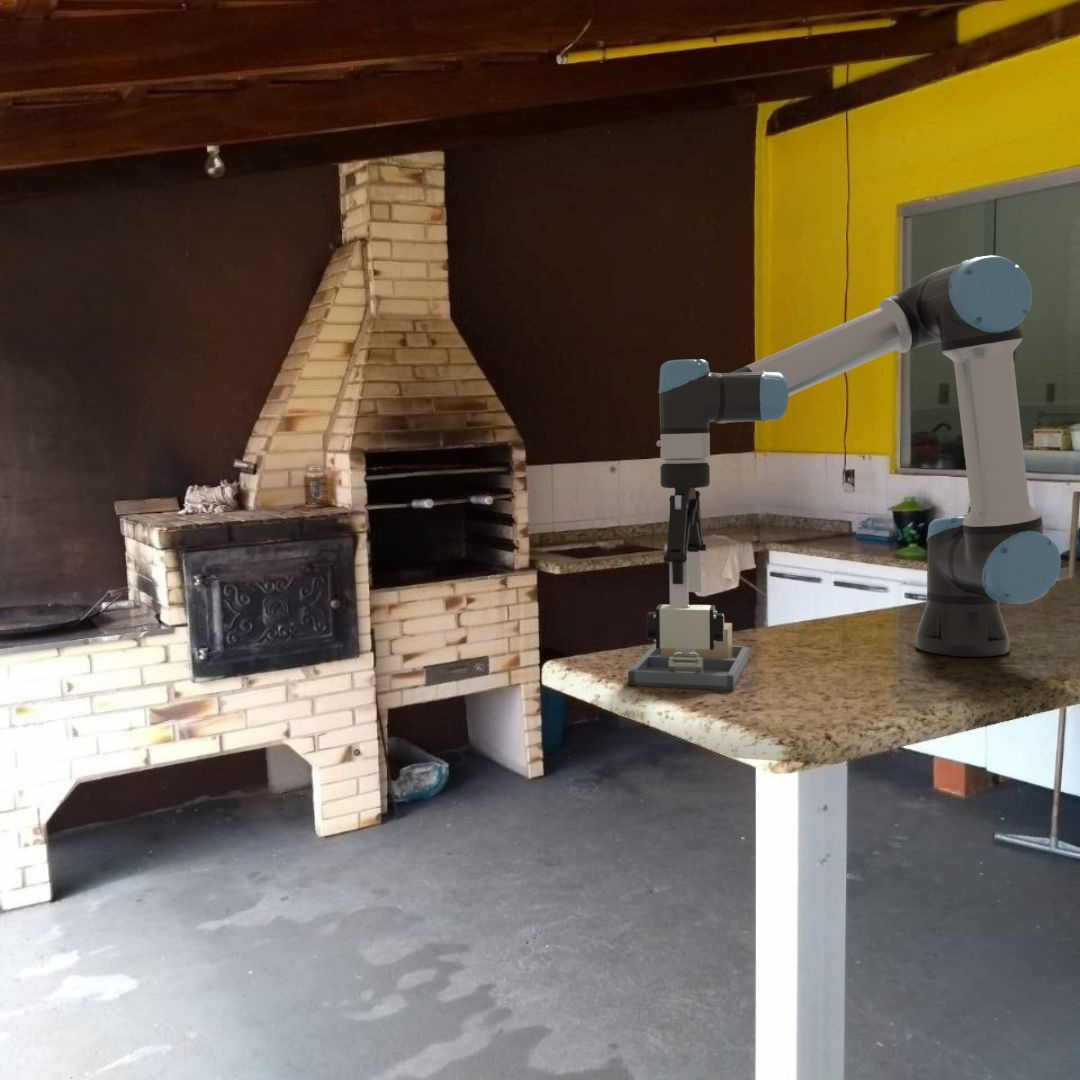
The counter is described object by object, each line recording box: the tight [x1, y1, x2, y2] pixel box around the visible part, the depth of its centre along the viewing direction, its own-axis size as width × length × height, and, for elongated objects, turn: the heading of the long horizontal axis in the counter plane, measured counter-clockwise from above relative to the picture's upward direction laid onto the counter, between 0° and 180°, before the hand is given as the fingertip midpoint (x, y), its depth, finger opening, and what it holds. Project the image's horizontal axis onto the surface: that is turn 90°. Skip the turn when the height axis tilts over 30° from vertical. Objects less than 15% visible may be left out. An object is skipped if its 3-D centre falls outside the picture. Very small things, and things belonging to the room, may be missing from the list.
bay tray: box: [627, 622, 750, 692], centre depth 170 cm, size 16×23×7 cm
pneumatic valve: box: [646, 604, 725, 673], centre depth 164 cm, size 6×12×12 cm, turn 78°
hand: (686, 598), depth 163 cm, fingers open, 13 cm apart
